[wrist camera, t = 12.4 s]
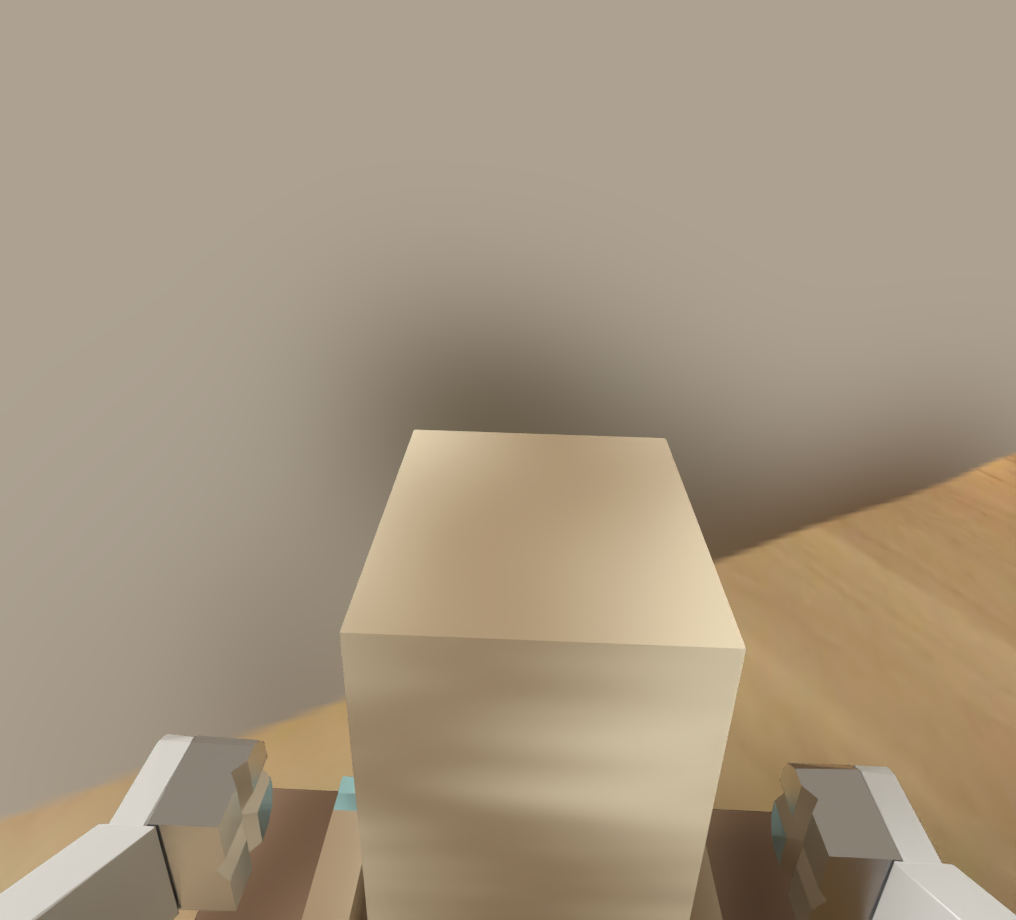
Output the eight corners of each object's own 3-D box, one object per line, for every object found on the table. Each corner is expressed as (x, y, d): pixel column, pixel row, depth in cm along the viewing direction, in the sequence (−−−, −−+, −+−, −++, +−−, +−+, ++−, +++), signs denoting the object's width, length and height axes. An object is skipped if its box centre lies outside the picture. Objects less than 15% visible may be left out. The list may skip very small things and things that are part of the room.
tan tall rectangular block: (598, 966, 18) (665, 438, 12) (619, 1256, 13) (745, 648, 7) (432, 958, 18) (414, 429, 12) (399, 1245, 13) (339, 632, 7)
